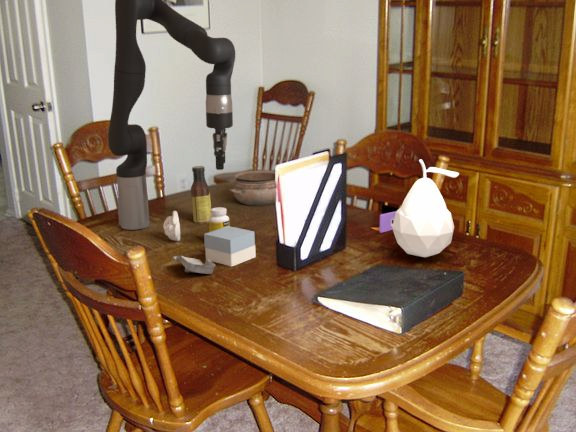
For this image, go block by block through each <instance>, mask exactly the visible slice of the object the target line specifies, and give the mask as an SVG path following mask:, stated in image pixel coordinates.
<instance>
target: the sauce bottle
mask: <svg viewBox="0 0 576 432" xmlns="http://www.w3.org/2000/svg"><path fill="white" fill-rule="evenodd" d="M191 171H192V175H193V176H192V177H193V179H192V180H193V182H192V185H191V187H190V192H191V205H192V207H191V208H192V216H193V217H192V218H193V222H194V223H195V224H198V225H201V224H209V218H210V216H212V214H211V209H212V203H211V201H212V200H211V190H210V187H209V185H208V183H207V181H206V180H207V179H206V176H205V171H206V170H205V166H203V165H196V166H192V167H191Z"/></svg>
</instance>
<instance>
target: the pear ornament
mask: <svg viewBox="0 0 576 432" xmlns="http://www.w3.org/2000/svg"><path fill="white" fill-rule="evenodd" d="M418 162H419V163H420V166H421V169H422V177H421V178H418V179H417V180H416V181H415V182H414V184H413V185H412V187H411V188H410V190H409V191H408V192H407V195H406V196H405V198H404V200H403V202H402V204H401V206H400V207H399V209H398V210H397V211H396V214H395V218H394V222H393V223H392V224H393V226H392V229H393V230H392V232H393V234H394V237H395V240H396V242H397V244H398V245H399V246H400V248H401V249H403V251H404V252H405V253H406V254H407V255H412V256H416V257H422V258H428V257H431V256H432V257H433V256H435V255H438V254H440V253H441V252H442V251H443V250H445V249H446V247H448V246H449V245H450V244H451V243H452V240H453V234H454V230H455V225H454V221H453V216H452V213H451V211H449V209H448V208H447V204H446V202H445V200H444V198H443V195H442V194H441V191H440V190H439V188H438V186H437V184H436V183H435V182H434V180H433V179H431V178H429V177H427V173H433V174H440V175H443V176H446V177H449V178H453V179H455V178H457V177H459V175H460V172H457V171H454V170H453V171H452V170H448V169H444V168H440V167H435V166H430V167H428V168H427V169H426V165H425V163H424V160H423V159H419V160H418Z"/></svg>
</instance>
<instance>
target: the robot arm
mask: <svg viewBox="0 0 576 432" xmlns="http://www.w3.org/2000/svg"><path fill="white" fill-rule="evenodd" d="M114 1H115V2H114V15H115V17H114V18H115V57H114V70H113V94H112V107H111V114H110V121H109V125H108V130H107V131H108V134H107V145H108V147H109V150H110V152H111V154H113V155H114V156H117V157H120V156H122V157H123V156H126V158H125V160H124V161H122V163H120V164H119V165H117V167H116V168H115V169H116V170H115V172H116V183H117V196H118V197H117V198H116V202H117V213H118V224H119V227H120V228H121V229H122V230H132V231H133V230H135V231H136V230H142V229H146V228H148V227H150V224H151V223H150V213H149V199H148V187H147V186H148V185H147V172H146V170H147V165H148V151H147V150H148V149H147V148H148V147H147V146H148V143H147V135H146V133H145V130H144V128H143V127H142V126H141V125H140V124H129V119H130V115H131V112H132V110H133V108H134V106H135V104H136V103H137V101H138V100H139V98H140V97H141V95H142V93H143V91H144V88H145V83H146V70H147V68H146V67H147V66H146V61H145V58H144V55H143V54H142V51H141V49H140V46H139V43H138V39H137V27H138V26H137V23H138V21H139V20H140V21H142V20H143V21H144V20H148V21H152V22H155V23H157V24H159V25H161V26H162V27H164V29H165V30H166V32H167V33H168V35H169V36H170V37H171V38H172V39H173V40H175V41H176V42H178V43H179V44H181V45H182V46H184V47H186V48H188V49H189V50H190V51H191V52H192V53H193V54H194V55H195V56H196V57H197V58H198V59H199V60H200V61H202V62H204V63H206V64H209V65H213V69H212V71H211V72H210V73H208V74H207V75H206V76H205V77H206V78H205V91H206V93H205V94H206V95H205V118H206V119H205V120H206V121H205V122H206V125H205V126H206V127H207V128H209V129H214V132H213V133H212V142H213V144H212V145H213V146H212V147H213V150H214V151H213V155H214V157H215V169H216V171H217V170H218V171H220V170H221V171H223V170H224V168H225V167H224V166H225V165H224V164H225V163H226V150H227V148H226V147H227V144H228V143H227V142H228V133H227V132H226V131H227V129H229V128H232V127H233V125H234V122H233V120H234V119H233V99H232V81H231V80H232V75H233V73H234V72H233V71H234V66H235V61H236V49H235V46H234V44H233V42H232V41H231V39H229V38H227V37H211V36H209V35H208V33H207V30H206V29H205V28H204V27H203V26H202V25H199V24H198V23H196V22H194V21H192V20H191V19H189V18H188V17H185V16H184V15H182V14H181V13H179V12H178V11H176V10H175V9H174V8H172V6H170V5H169V4H167V3H166V2H165V1H164V0H114Z"/></svg>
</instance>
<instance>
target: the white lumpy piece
mask: <svg viewBox="0 0 576 432" xmlns="http://www.w3.org/2000/svg"><path fill="white" fill-rule="evenodd" d="M163 230H164V235H165V236H167V237H168V238H169V239H170V240H171V241H175V242H180V241H181V224H180V220H179V214H178V211H177V210H172V215H171V216H167V217H166V219H165V220H164V223H163Z"/></svg>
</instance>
